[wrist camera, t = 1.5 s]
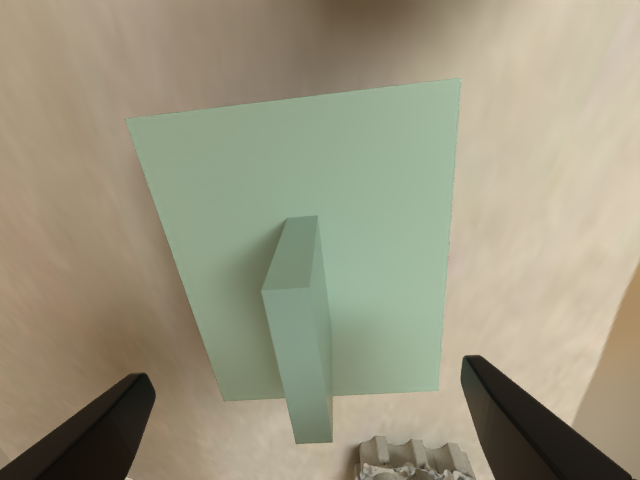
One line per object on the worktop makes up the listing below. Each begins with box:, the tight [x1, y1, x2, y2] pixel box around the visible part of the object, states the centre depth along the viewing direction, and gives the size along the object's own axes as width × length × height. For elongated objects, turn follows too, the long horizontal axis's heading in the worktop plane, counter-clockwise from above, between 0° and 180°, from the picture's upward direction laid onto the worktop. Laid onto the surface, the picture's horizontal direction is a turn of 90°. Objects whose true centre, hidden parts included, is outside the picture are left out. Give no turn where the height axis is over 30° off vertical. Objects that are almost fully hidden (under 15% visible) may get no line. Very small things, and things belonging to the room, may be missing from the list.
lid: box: [125, 78, 461, 444], centre depth 12 cm, size 11×14×7 cm
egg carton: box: [354, 436, 476, 480], centre depth 28 cm, size 11×8×4 cm
